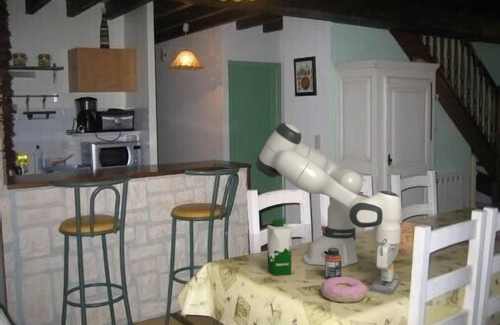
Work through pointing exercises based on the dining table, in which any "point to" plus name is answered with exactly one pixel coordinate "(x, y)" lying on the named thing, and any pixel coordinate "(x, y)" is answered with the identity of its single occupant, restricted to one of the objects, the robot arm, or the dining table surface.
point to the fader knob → (390, 276)
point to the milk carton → (279, 248)
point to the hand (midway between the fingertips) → (387, 274)
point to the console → (384, 285)
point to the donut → (343, 289)
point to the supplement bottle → (332, 263)
